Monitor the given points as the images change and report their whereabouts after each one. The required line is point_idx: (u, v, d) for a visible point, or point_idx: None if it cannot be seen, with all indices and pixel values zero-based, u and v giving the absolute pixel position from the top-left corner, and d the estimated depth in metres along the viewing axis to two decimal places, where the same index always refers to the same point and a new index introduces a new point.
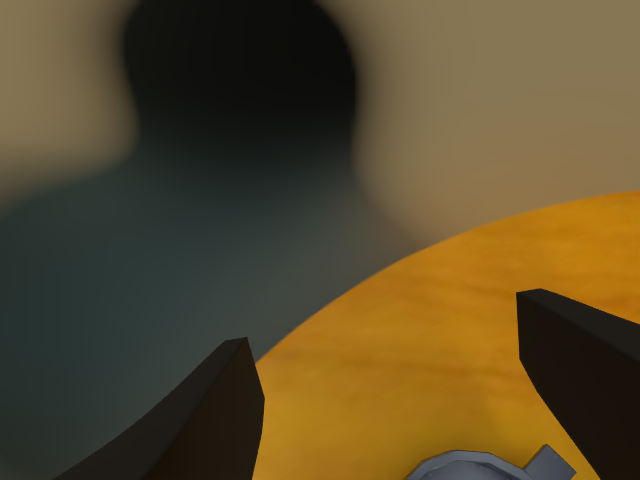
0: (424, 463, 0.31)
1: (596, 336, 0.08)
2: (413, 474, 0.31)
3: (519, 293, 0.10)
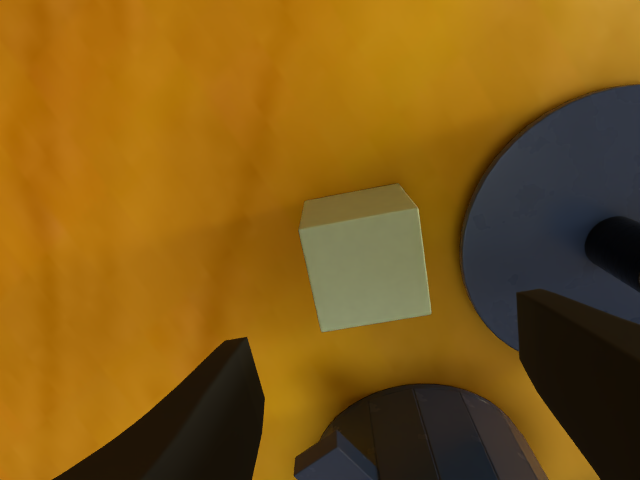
0: None
1: (596, 336, 0.08)
2: None
3: (519, 293, 0.10)
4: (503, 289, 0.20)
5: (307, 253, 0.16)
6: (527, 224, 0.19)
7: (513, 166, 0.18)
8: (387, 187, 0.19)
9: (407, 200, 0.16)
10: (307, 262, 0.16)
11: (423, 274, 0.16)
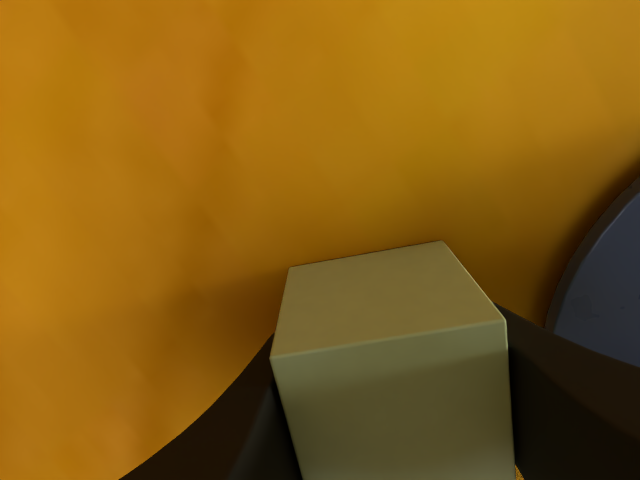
0: None
1: (517, 348, 0.08)
2: None
3: None
4: None
5: (287, 399, 0.08)
6: None
7: None
8: (426, 249, 0.11)
9: (475, 292, 0.09)
10: (287, 414, 0.08)
11: (507, 434, 0.08)
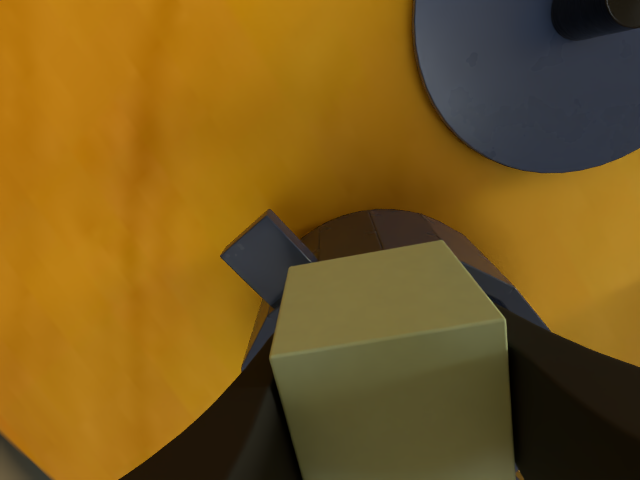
0: None
1: (517, 348, 0.08)
2: None
3: None
4: (461, 72, 0.18)
5: (287, 399, 0.08)
6: None
7: None
8: (426, 248, 0.11)
9: (475, 291, 0.09)
10: (287, 413, 0.08)
11: (507, 434, 0.08)
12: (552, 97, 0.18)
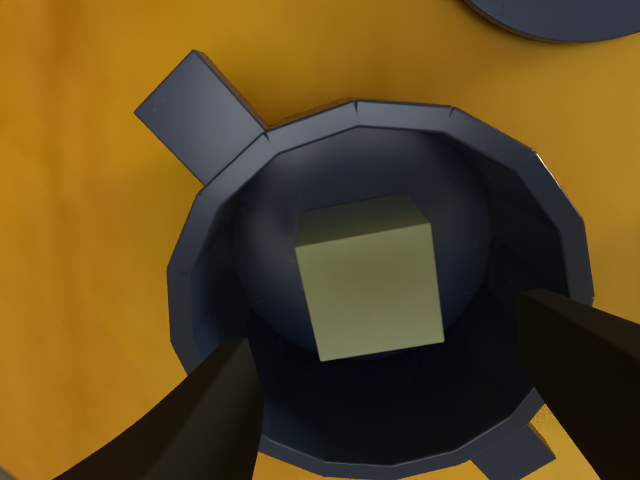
0: None
1: (596, 336, 0.08)
2: None
3: (519, 293, 0.10)
4: None
5: (304, 274, 0.14)
6: None
7: None
8: (393, 197, 0.17)
9: (417, 213, 0.14)
10: (304, 284, 0.14)
11: (435, 297, 0.14)
12: None
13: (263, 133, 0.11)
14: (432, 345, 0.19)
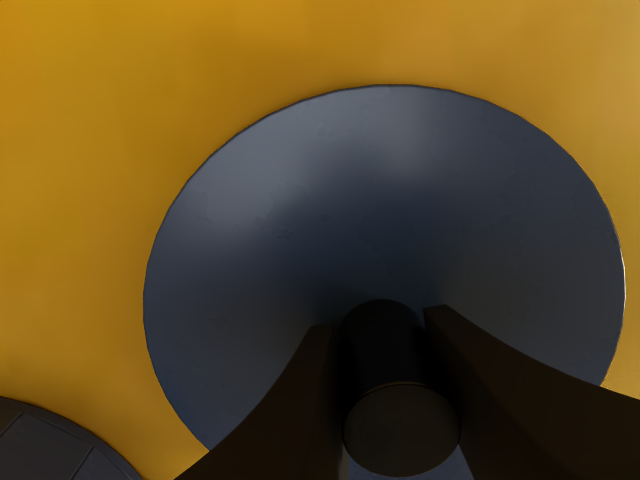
0: None
1: (464, 356, 0.08)
2: None
3: (424, 309, 0.11)
4: (198, 329, 0.12)
5: None
6: (270, 248, 0.11)
7: (283, 141, 0.10)
8: None
9: None
10: None
11: None
12: None
13: None
14: None
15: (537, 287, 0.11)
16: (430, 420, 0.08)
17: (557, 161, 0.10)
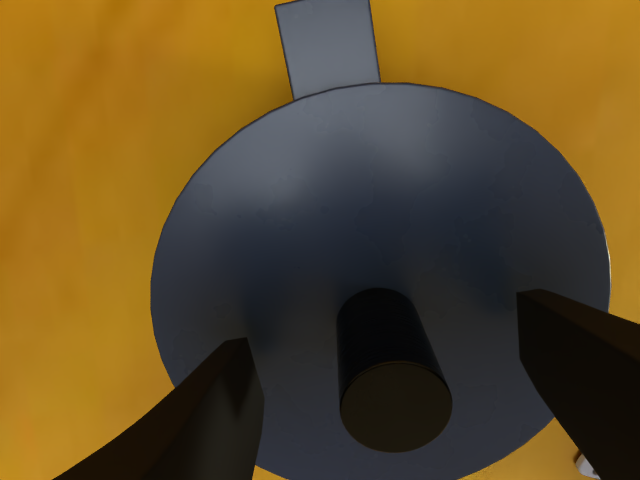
0: None
1: (596, 336, 0.08)
2: None
3: (519, 293, 0.10)
4: (203, 317, 0.12)
5: None
6: (272, 238, 0.11)
7: (284, 136, 0.10)
8: None
9: None
10: None
11: None
12: (303, 399, 0.13)
13: None
14: None
15: (526, 276, 0.12)
16: (423, 397, 0.09)
17: (544, 155, 0.11)
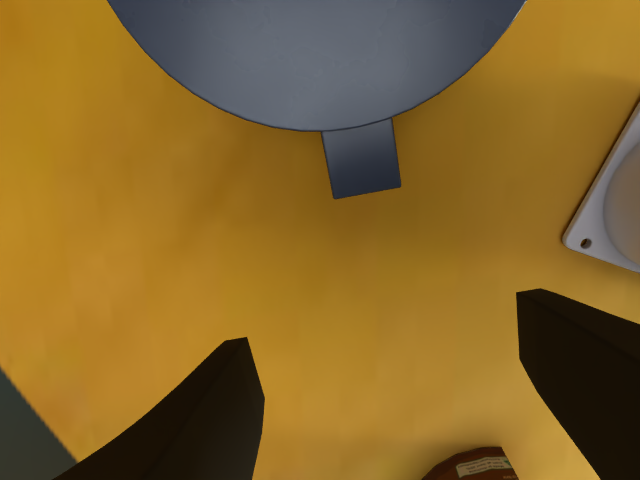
0: None
1: (596, 336, 0.08)
2: None
3: (519, 293, 0.10)
4: None
5: None
6: None
7: None
8: None
9: None
10: None
11: None
12: None
13: None
14: None
15: None
16: None
17: None
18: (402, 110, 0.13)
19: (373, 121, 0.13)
